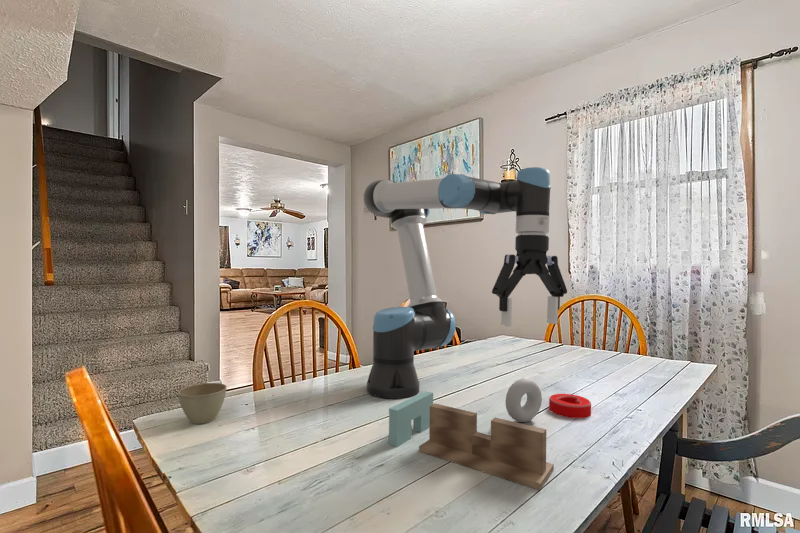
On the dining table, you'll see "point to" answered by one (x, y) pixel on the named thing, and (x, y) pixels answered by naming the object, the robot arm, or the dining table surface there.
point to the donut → (516, 395)
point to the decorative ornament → (570, 405)
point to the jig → (489, 446)
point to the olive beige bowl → (202, 401)
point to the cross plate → (409, 417)
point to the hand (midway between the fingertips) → (529, 324)
